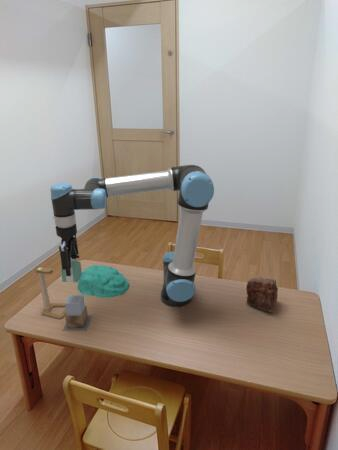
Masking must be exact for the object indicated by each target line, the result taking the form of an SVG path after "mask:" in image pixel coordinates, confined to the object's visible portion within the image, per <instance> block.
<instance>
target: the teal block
mask: <svg viewBox="0 0 338 450" xmlns="http://www.w3.org/2000/svg"><path fill="white" fill-rule="evenodd" d="M71 267H72V270H73V278H74V282H73V283H78V281H79V279H80V277H81V275H82V272H83V270H82V264H81V261H78V262H76V261H71ZM60 273H61V279H62V283H68V282H67V281H66V274H65V270H62V267H61V268H60Z"/></svg>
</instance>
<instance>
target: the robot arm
mask: <svg viewBox="0 0 338 450" xmlns="http://www.w3.org/2000/svg"><path fill="white" fill-rule="evenodd" d="M164 190H171V191H172V192H176V191H178V198H177V206H178V207H179V208H180V211H179V217H178V226H177V232H176V237H175V244H174V250H172V251H168V252H166V253H164V254H163V256H162V264H163V265H162V266H163V267H162V269H163V271H162V272H163V284H162V287H161V290H160V300H161V302H162V303H164V304H165V305H167V306H169V307H183V306H185V305H188V304H190V303H191V302H192V299H193V296H194V295H195V293H196V285H195V278H196V274H197V268H196V266H195V265H194V264H195V259H196V253H197V247H198V243H199V236H200V230H201V227H202V219H203V214H204V212H206V211H207V210H208V209H209V204H210V202H211V200H212V199H213V197H214V194H215V186H214V182H213V180H212V178H211V177H210V176H209V174H207V172H206V171H205V169H203V168H202V167H201V166H199V165H195V164H186V165H185V164H184V165H178V166H171V167H169V168H168V169H167V170H160V171H159V170H158V171H152V172H145V173H138V174H137V173H135V174H130V175H129V174H128V175H121V176H114V177H113V176H111V177H106V178H100V177H96V176H94V177H91V178H89V179H88V180H87V181H86V182H85V185H84V187H83V188H81V189H80V188H79V189H77V188H76V189H75V188H73V186H72V185H71V183H67V182H59V183H55V184H52V185H51V186H50V200H51V204H52V210H53V216H52V217H53V218H52V219H54V225H55V232H56V233H55V234H56V236H57V237H59V238H60V239H61V240H60V242H61V243H60V244H61V245H59V246H58V250H59V255H60V256H59V257H60V262H61V268H62V270H65V274H66V281H67V282H66V283H75V282H74V278H73V270H72V267H71V261H76V262H79V261H78V259H79V258H80V255H79V254H80V253H79V247H78V239H77V233H78V228H77V220H76V211H75V210H77V211H79V210H81V211H82V210H95V211H96V210H104V209H105V208H106V207H107V202H108V201H107V198H109V197H115V196H124V195H132V194H134V195H135V194H140V193H147V192H148V193H149V192H156V191H164Z"/></svg>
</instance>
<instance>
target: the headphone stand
mask: <svg viewBox="0 0 338 450" xmlns="http://www.w3.org/2000/svg"><path fill="white" fill-rule="evenodd" d="M53 271H54V270H53V268H52V267H51V268H47V267H42V266H38V267H37V268H36V269H35V273H37V275H38V281H39V286H40V292H41V299H42V302H43V308H44V309H43V310H42V311H41V315H42V316H45V317H48V318H51V319H56V320H63V319H64V318H65V316H66V308H65V302H64V303H62V302H61V303H59V302H57V303H52V302H51V301H50V296H49V293H48V287H47V283H46V279H45V274H46V275H51V274H53ZM53 308H64V309H63V311H62V312H61V313H60V314H57V313H53V312H51V310H53Z"/></svg>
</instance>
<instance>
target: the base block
mask: <svg viewBox="0 0 338 450" xmlns="http://www.w3.org/2000/svg"><path fill="white" fill-rule="evenodd" d="M87 307H88V306H87V305H85V308H84V310H83V313H82V315H81V316H67V314H66V315H65V316H64V318H65V324H67V328H84V327H85V324H86V321H87V319H88V315H89V313H88V309H87Z"/></svg>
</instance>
